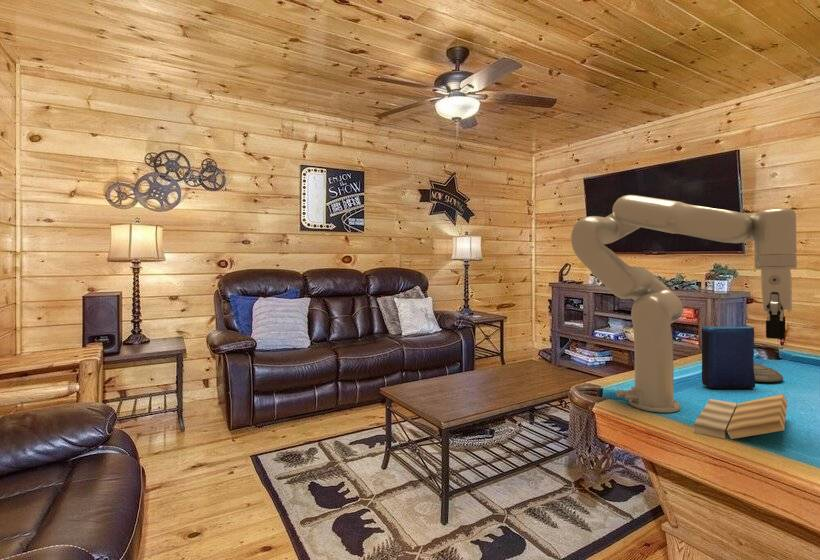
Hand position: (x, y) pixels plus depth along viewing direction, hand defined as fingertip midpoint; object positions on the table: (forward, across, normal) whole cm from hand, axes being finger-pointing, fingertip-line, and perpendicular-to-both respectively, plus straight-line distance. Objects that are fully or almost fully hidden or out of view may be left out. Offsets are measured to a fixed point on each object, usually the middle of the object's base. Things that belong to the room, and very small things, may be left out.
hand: (776, 335), depth 101 cm
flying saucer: (+23, +54, +7) cm, 59 cm away
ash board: (+23, 0, +12) cm, 25 cm away
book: (+23, +35, +12) cm, 44 cm away
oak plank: (+20, 0, +3) cm, 21 cm away
